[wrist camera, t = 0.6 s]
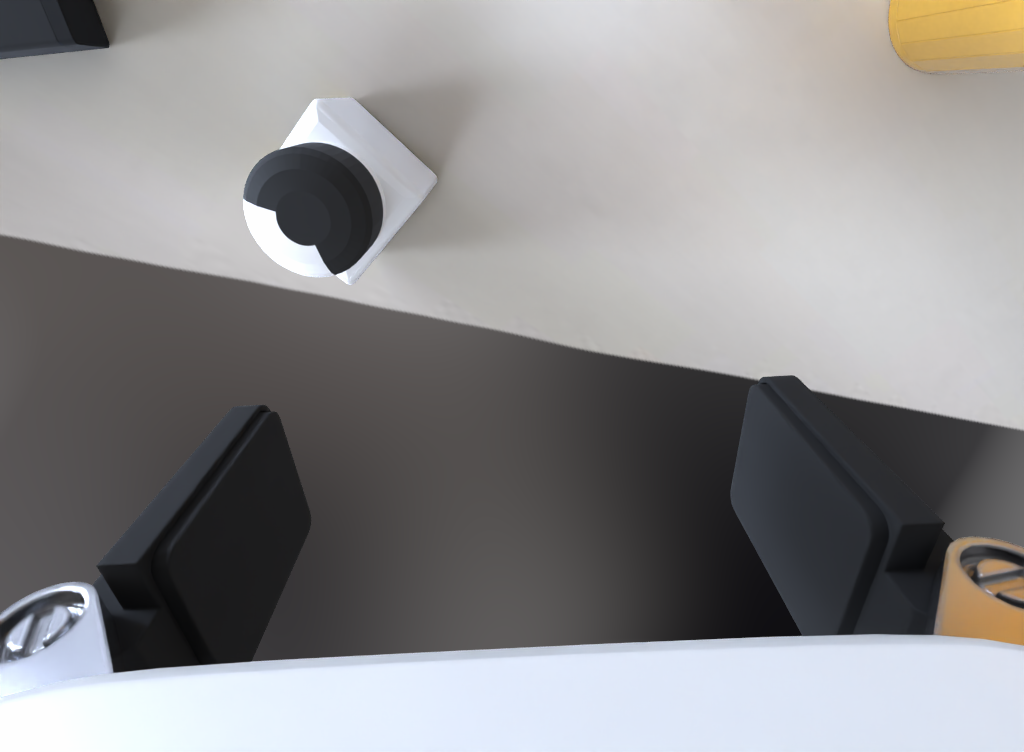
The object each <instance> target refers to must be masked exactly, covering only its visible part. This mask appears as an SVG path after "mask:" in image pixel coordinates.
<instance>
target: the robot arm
mask: <svg viewBox="0 0 1024 752" xmlns="http://www.w3.org/2000/svg"><path fill="white" fill-rule="evenodd" d="M731 502H732V506H733V508H734V511H735V512H736V514H737V516H738V518H739V520H740V521H741V523H742V525H743V527H744V529H745V531H746V533H747V534H748V536H749V538H750V540H751V542H752V544H753V545H754V547H755V549H756V551H757V553H758V555H759V556H760V558H761V560H762V562H763V564H764V566H765V567H766V569H767V571H768V573H769V575H770V576H771V578H772V580H773V582H774V584H775V586H776V588H777V589H778V591H779V593H780V595H781V597H782V598H783V600H784V602H785V604H786V606H787V608H788V610H789V611H790V613H791V615H792V617H793V619H794V621H795V622H796V624H797V626H798V628H799V630H800V632H801V633H802V635H803V636H794V637H793V636H789V637H758V638H734V639H710V640H686V641H663V642H642V643H641V642H639V643H615V644H593V645H572V646H550V647H528V648H507V649H487V650H466V651H446V652H426V653H425V652H424V653H405V654H387V655H367V656H348V657H331V658H330V657H329V658H311V659H292V660H274V661H255V662H251V661H252V659H253V657H254V654H255V652H256V650H257V648H258V645H259V643H260V641H261V639H262V636H263V634H264V632H265V630H266V627H267V625H268V623H269V620H270V618H271V616H272V614H273V612H274V609H275V607H276V605H277V603H278V600H279V598H280V596H281V594H282V591H283V589H284V587H285V584H286V582H287V580H288V578H289V576H290V573H291V571H292V569H293V567H294V564H295V562H296V560H297V557H298V555H299V553H300V551H301V548H302V546H303V544H304V542H305V539H306V537H307V535H308V533H309V530H310V525H311V515H310V511H309V507H308V504H307V501H306V498H305V495H304V492H303V488H302V485H301V482H300V479H299V476H298V473H297V470H296V466H295V463H294V460H293V457H292V454H291V451H290V448H289V445H288V441H287V438H286V435H285V432H284V429H283V426H282V423H281V419H280V417H279V415H278V414H277V412H271V411H270V409H269V408H268V407H267V406H265V405H255V406H254V405H253V406H237V407H233V408H232V409H231V410H230V411H229V412H228V413H227V414H226V415H225V417H224V418H223V419H222V420H221V421H220V423H219V424H218V425H217V426H216V427H215V428H214V430H213V431H212V432H211V433H210V434H209V435H208V437H207V438H206V439H205V440H204V441H203V442H202V443H201V445H200V446H199V447H198V448H197V449H196V450H195V452H194V453H193V454H192V455H191V456H190V458H189V459H188V460H187V461H186V462H185V463H184V464H183V466H182V467H181V468H180V469H179V470H178V471H177V473H176V474H175V475H174V476H173V477H172V479H171V480H170V481H169V482H168V483H167V484H166V485H165V487H164V488H163V489H162V490H161V491H160V492H159V494H158V495H157V496H156V497H155V498H154V499H153V501H152V502H151V503H150V504H149V505H148V506H147V508H146V509H145V510H144V511H143V512H142V513H141V515H140V516H139V517H138V518H137V519H136V520H135V522H134V523H133V524H132V525H131V526H130V527H129V529H128V530H127V531H126V532H125V533H124V534H123V535H122V537H121V538H120V539H119V540H118V541H117V543H116V544H115V545H114V546H113V547H112V548H111V549H110V551H109V552H108V553H107V554H106V555H105V556H104V558H103V559H102V560H101V561H100V562H99V564H98V565H97V567H98V569H99V571H100V572H101V575H100V577H99V578H98V579H97V580H96V581H95V583H94V584H93V585H92V586H91V585H89V584H87V583H85V582H68V583H63V584H58V585H53V586H50V587H48V588H45V589H43V590H40V591H37V592H35V593H33V594H31V595H29V596H27V597H25V598H24V599H22V600H20V601H18V602H16V603H14V604H13V605H12V606H10V607H9V608H7V609H6V610H5V611H3V612H2V613H0V752H1024V548H1023V547H1020V546H1018V545H1015V544H1013V543H1009V542H1005V541H1002V540H997V539H993V538H984V537H976V536H975V537H966V538H960V539H958V540H956V541H953V540H952V539H951V538H950V537H949V536H948V535H947V534H946V533H945V532H944V531H943V530H942V528H943V525H944V524H945V523H944V522H943V521H942V520H941V519H940V518H939V517H938V516H937V515H936V514H935V513H934V512H933V511H932V510H931V509H930V508H929V507H928V506H927V505H926V504H925V503H924V502H923V501H922V500H921V499H920V498H919V497H918V496H917V495H916V494H915V493H914V492H913V491H912V490H911V489H910V488H909V487H908V486H907V485H906V484H905V483H904V482H903V481H902V480H901V479H900V478H899V477H898V476H897V475H896V474H895V473H894V472H893V471H891V469H890V468H889V467H887V465H886V464H885V463H884V462H883V461H881V460H880V459H879V458H878V457H877V456H876V455H875V454H874V453H873V452H872V451H871V450H870V449H869V448H868V447H867V446H866V445H865V444H864V443H863V442H862V441H861V440H860V439H859V438H858V437H857V436H856V435H855V434H854V433H853V432H852V431H851V430H850V429H849V428H848V427H847V426H846V425H845V424H844V423H843V422H842V421H841V420H840V419H839V418H838V417H837V416H836V415H835V414H834V413H833V412H832V411H831V410H830V409H829V408H828V407H827V406H826V405H825V404H824V403H823V402H822V401H820V399H818V398H817V397H816V396H815V395H814V394H813V393H812V392H811V391H810V390H809V389H808V388H807V387H806V386H805V385H804V384H803V383H802V382H801V381H800V380H799V379H798V378H797V377H795V376H773V377H763V378H761V379H760V380H759V382H758V385H753V386H751V388H750V390H749V393H748V399H747V404H746V410H745V415H744V421H743V426H742V432H741V438H740V443H739V448H738V454H737V460H736V465H735V470H734V476H733V481H732V487H731Z"/></svg>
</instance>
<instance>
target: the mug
mask: <svg viewBox="0 0 1024 752" xmlns="http://www.w3.org/2000/svg"><path fill="white" fill-rule="evenodd" d="M888 24H889V33H890V39H891V42H892V44H893V47H894V49H895V51H896V53H897V55H898V56H899V57H900V58H901V60H902V61H903V62H905V63H906V64H907V65H908V66H910V67H911V68H913V69H915V70H917V71H920V72H924V73H930V74H962V73H987V72H1011V71H1024V0H891V1H890V7H889V17H888Z"/></svg>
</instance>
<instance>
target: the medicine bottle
mask: <svg viewBox="0 0 1024 752" xmlns="http://www.w3.org/2000/svg"><path fill="white" fill-rule="evenodd" d="M437 181H438V180H437V176H436V175H435V174H434V173H433V172H432V171H431V170H430V169H429V168H428V167H427V166H426V165H425V164H424V163H422V162H421V161H420V160H419V159H418V158H417V157H416V156H415V155H414V154H413V153H412V152H411V151H410V150H409V149H407V148H406V147H405V146H404V145H403V144H402V143H401V142H400V141H399V140H398V139H397V138H396V137H395V136H394V135H392V134H391V133H390V132H389V131H388V130H387V129H386V128H385V127H384V126H383V125H382V124H381V123H380V122H379V121H377V120H376V119H375V118H374V117H373V116H372V115H371V114H370V113H369V112H368V111H367V110H366V109H365V108H364V107H363V106H361V105H360V104H359V103H358V102H357V101H356V100H355V99H353V98H325V99H315V100H313V101H312V103H311V104H310V106H309V107H308V108H307V110H306V111H305V113H304V114H303V116H302V117H301V119H300V120H299V122H298V123H297V125H296V126H295V128H294V129H293V131H292V132H291V134H290V135H289V137H288V138H287V140H286V141H285V142H284V144H283V145H282V147H281V148H280V149H279V150H276V151H274V152H272V153H270V154H268V155H266V156H265V157H264V158H262V159H261V160H260V161H259V162H258V163H257V164H256V165H255V166H254V168H253V169H252V171H251V172H250V174H249V176H248V179H247V181H246V184H245V188H244V196H243V205H244V213H245V218H246V221H247V224H248V227H249V229H250V231H251V233H252V235H253V237H254V238H255V240H256V242H257V243H258V244H259V246H260V247H261V248H262V249H263V251H264V252H265V253H266V254H267V255H268V256H269V257H270V258H272V259H273V260H274V261H275V262H277V263H278V264H280V265H281V266H283V267H284V268H286V269H288V270H291V271H293V272H295V273H298V274H301V275H306V276H311V277H328V276H333V275H336V276H338V277H339V278H340V279H341V280H343V281H344V282H345V283H347V284H354V283H355V282H356V281H357V280H358V279H359V277H360V276H361V275H362V274H363V273H364V271H365V270H366V269H367V268H368V267H369V265H370V264H371V263H372V262H373V261H374V259H375V258H376V257H377V256H378V255H379V253H380V252H381V251H382V250H383V249H384V247H385V246H386V245H387V244H388V242H389V241H390V240H391V239H392V238H393V236H394V235H395V234H396V233H397V232H398V230H399V229H400V228H401V227H402V226H403V224H404V223H405V222H406V221H407V220H408V218H409V217H410V216H411V215H412V213H413V212H414V211H415V210H416V209H417V207H418V206H419V205H420V204H421V203H422V201H423V200H424V199H425V198H426V196H427V195H428V194H429V192H430V191H431V190H432V188H433V187H434V186H435V184H436V183H437Z"/></svg>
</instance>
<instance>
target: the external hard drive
mask: <svg viewBox="0 0 1024 752" xmlns="http://www.w3.org/2000/svg"><path fill="white" fill-rule="evenodd" d="M102 48H109V41H108V39H107V36H106V34H105V31H104V28H103V26H102V23H101V20H100V18H99V15H98V13H97V10H96V7H95V5H94V2H93V0H0V59H6V58H16V57H25V56H35V55H44V54H54V53H64V52H73V51H83V50H92V49H102Z"/></svg>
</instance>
